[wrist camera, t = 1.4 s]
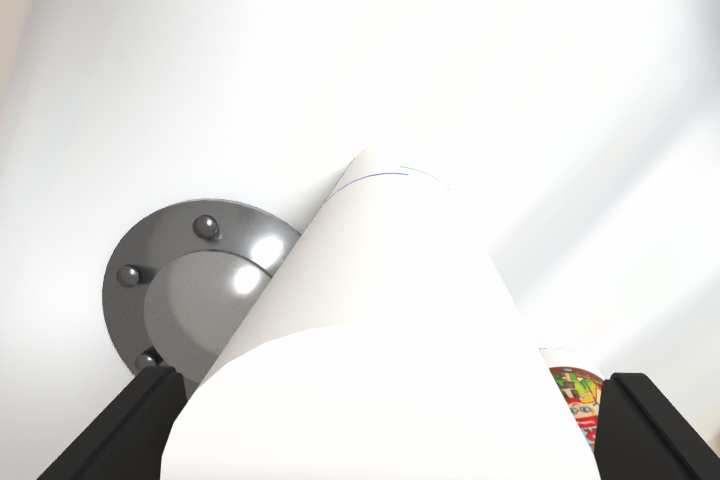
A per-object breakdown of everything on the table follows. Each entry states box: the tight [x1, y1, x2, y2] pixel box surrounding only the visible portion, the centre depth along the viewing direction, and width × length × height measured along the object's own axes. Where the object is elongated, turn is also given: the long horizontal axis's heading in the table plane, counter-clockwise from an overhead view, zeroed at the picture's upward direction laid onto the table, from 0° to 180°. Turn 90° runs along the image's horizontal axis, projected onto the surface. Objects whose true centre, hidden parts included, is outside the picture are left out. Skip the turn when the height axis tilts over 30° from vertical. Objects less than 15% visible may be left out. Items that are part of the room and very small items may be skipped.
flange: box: [102, 199, 302, 403], centre depth 35 cm, size 18×18×1 cm
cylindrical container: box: [160, 140, 601, 480], centre depth 19 cm, size 7×7×25 cm
